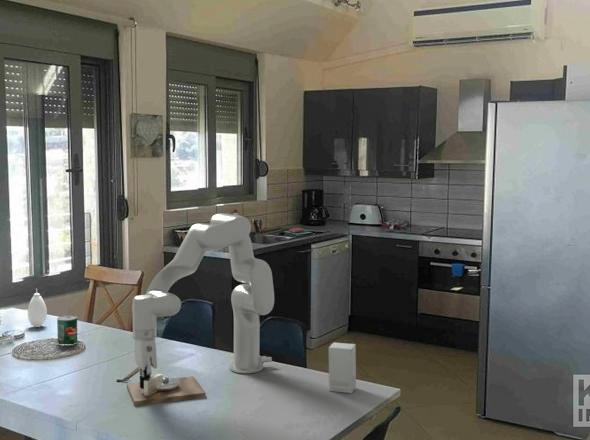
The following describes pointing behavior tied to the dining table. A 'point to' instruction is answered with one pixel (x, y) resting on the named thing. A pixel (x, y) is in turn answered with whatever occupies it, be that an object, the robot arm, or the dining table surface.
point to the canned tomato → (67, 329)
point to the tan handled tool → (128, 376)
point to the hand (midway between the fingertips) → (145, 387)
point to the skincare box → (342, 367)
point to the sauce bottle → (37, 310)
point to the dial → (159, 384)
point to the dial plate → (167, 392)
